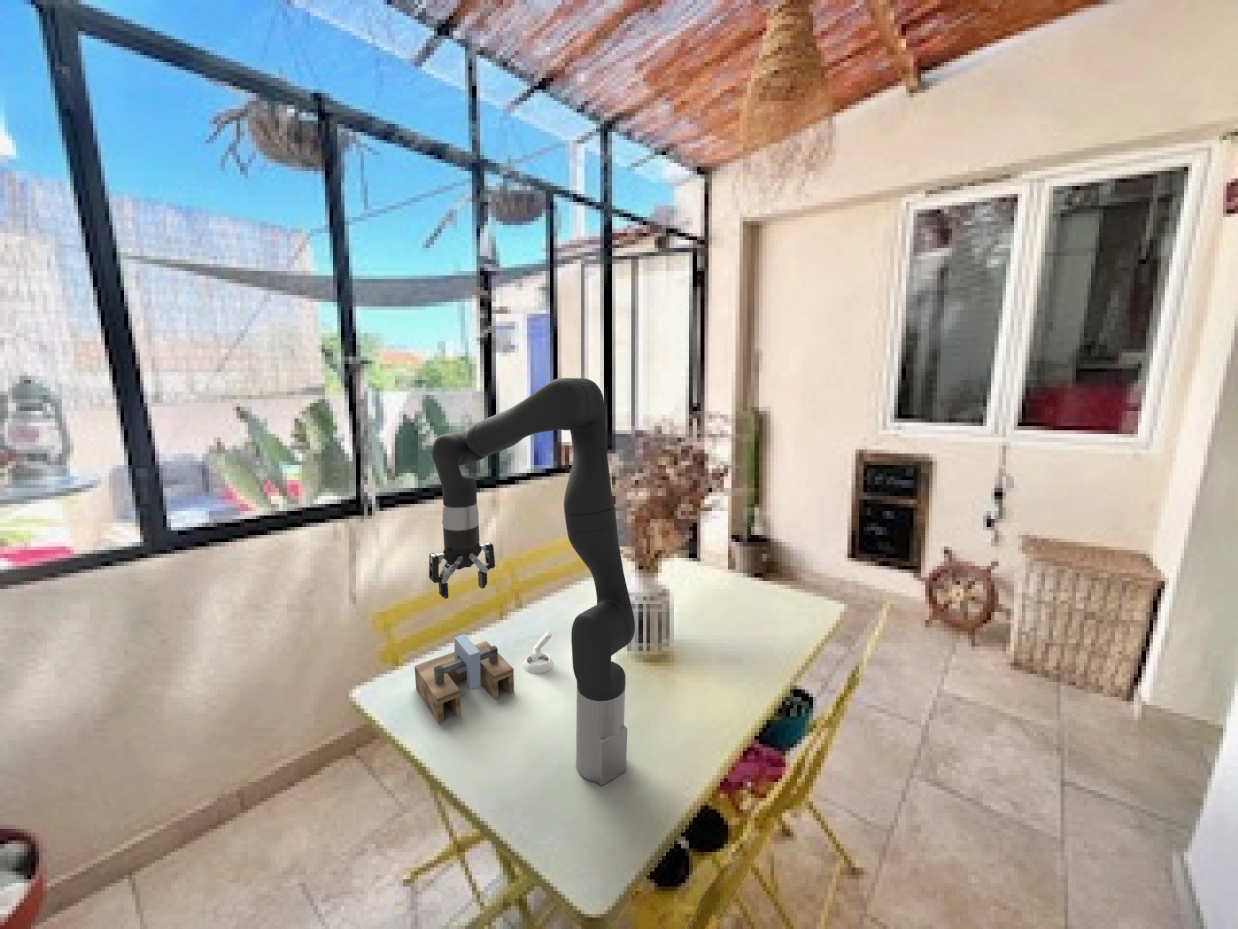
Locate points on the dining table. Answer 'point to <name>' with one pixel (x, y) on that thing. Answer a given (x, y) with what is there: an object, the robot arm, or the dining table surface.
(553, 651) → the dining table surface
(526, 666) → the mortar and pestle
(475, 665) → the blue arch block
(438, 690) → the wooden stand with handle
